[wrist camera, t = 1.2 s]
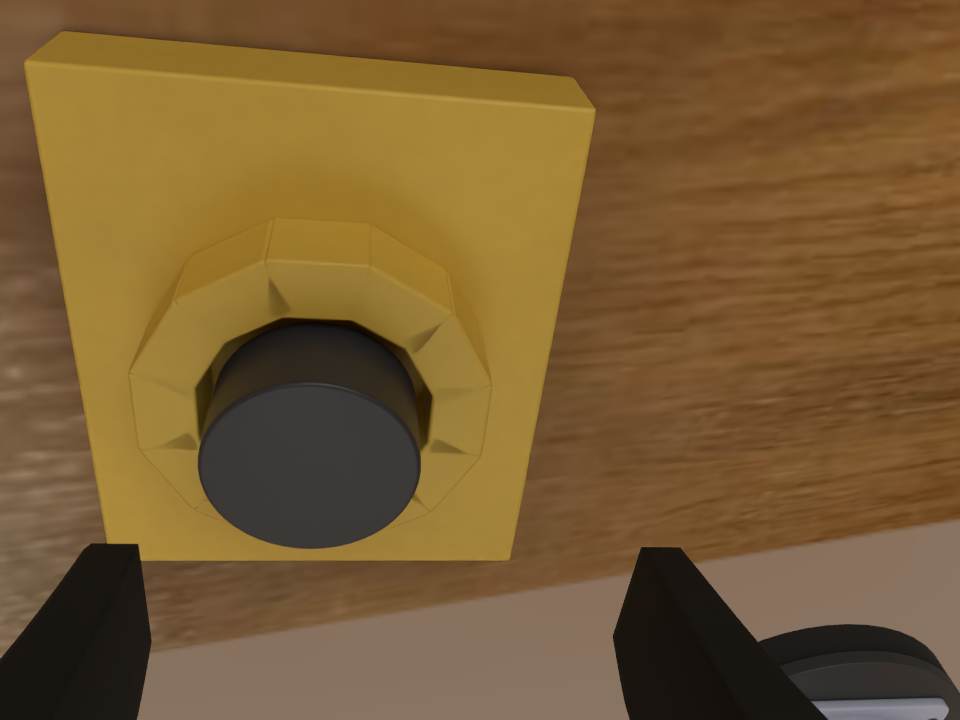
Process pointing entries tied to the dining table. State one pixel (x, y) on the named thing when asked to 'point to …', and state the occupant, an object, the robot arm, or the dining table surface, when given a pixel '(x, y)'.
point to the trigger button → (311, 437)
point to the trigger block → (306, 262)
